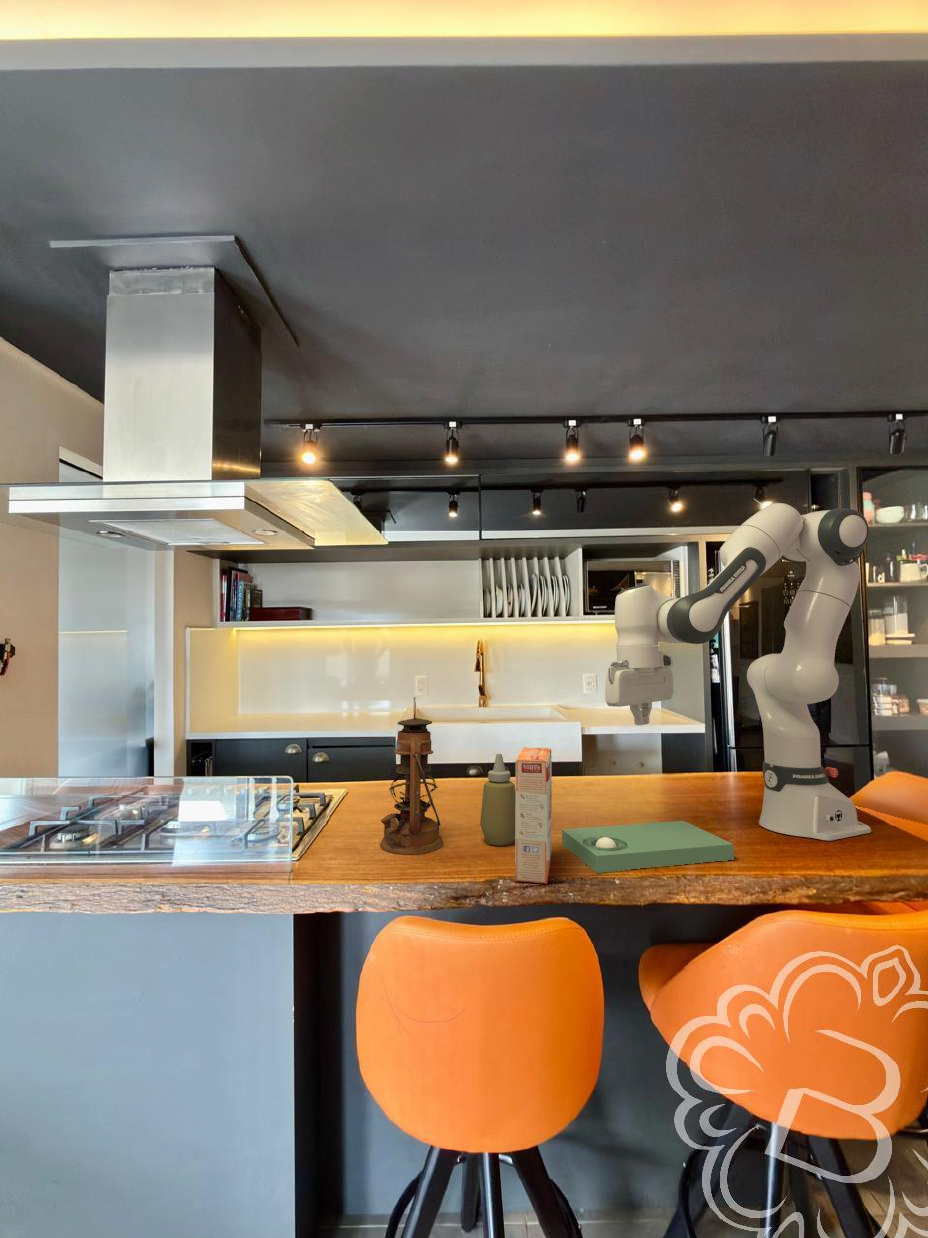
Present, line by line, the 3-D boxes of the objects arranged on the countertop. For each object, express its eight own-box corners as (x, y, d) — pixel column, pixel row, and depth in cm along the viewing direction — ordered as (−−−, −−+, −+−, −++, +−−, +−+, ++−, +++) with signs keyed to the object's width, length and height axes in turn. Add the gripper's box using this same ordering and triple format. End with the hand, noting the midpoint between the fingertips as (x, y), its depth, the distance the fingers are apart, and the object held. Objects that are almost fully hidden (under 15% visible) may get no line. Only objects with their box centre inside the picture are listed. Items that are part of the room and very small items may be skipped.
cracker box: (549, 885, 96) (548, 759, 98) (514, 882, 97) (513, 758, 99) (553, 856, 110) (552, 746, 111) (522, 854, 111) (521, 745, 112)
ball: (609, 832, 111) (598, 832, 108) (624, 847, 108) (613, 848, 105) (598, 848, 112) (587, 849, 109) (613, 863, 109) (602, 865, 106)
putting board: (683, 834, 123) (683, 820, 123) (734, 860, 108) (733, 844, 108) (562, 844, 117) (561, 829, 117) (597, 873, 101) (596, 855, 102)
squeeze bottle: (526, 841, 119) (526, 754, 120) (502, 851, 113) (501, 759, 114) (497, 833, 124) (496, 749, 126) (472, 842, 119) (471, 754, 120)
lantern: (379, 832, 125) (380, 695, 127) (438, 829, 127) (438, 694, 129) (380, 860, 108) (381, 700, 110) (448, 856, 110) (448, 699, 112)
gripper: (621, 661, 115) (625, 731, 114) (676, 658, 127) (681, 720, 127) (595, 662, 120) (599, 728, 119) (652, 658, 132) (655, 718, 131)
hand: (642, 724), depth 123 cm, fingers closed
